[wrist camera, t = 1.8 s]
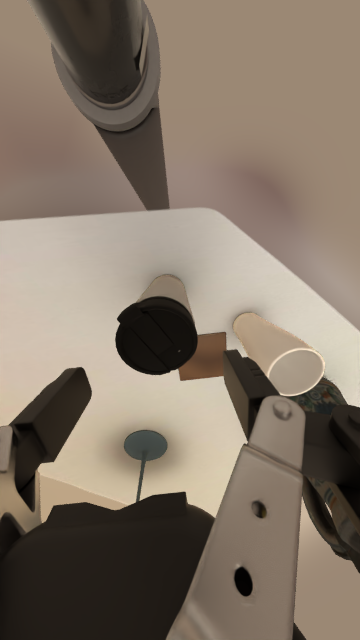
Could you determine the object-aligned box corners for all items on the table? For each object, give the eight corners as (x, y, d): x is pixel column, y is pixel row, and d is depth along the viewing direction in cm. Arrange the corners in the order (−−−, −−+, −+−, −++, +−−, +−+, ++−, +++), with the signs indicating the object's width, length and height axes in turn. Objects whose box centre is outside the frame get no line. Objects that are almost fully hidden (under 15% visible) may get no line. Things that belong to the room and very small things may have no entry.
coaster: (174, 337, 35) (174, 339, 34) (225, 331, 35) (226, 332, 34) (180, 379, 38) (180, 381, 38) (226, 374, 38) (227, 375, 38)
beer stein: (328, 358, 37) (587, 534, 14) (327, 423, 44) (501, 615, 21) (251, 377, 39) (370, 570, 15) (261, 437, 45) (355, 636, 22)
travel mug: (170, 265, 30) (162, 282, 11) (191, 296, 32) (216, 356, 13) (141, 286, 31) (90, 335, 12) (164, 315, 33) (149, 395, 14)
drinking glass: (222, 334, 35) (255, 388, 21) (238, 302, 33) (287, 339, 18) (252, 344, 36) (303, 403, 22) (270, 315, 34) (339, 358, 20)
